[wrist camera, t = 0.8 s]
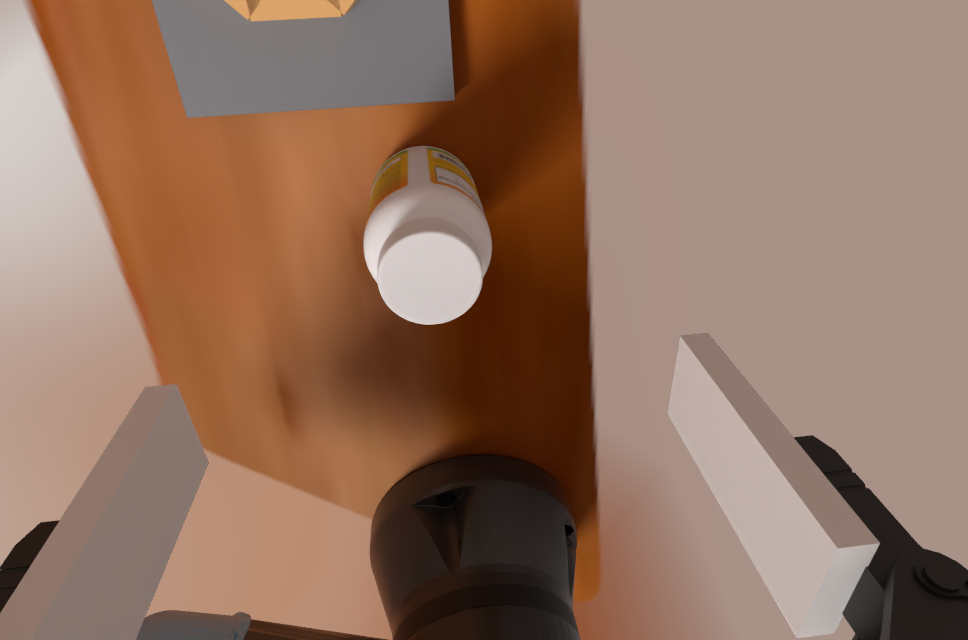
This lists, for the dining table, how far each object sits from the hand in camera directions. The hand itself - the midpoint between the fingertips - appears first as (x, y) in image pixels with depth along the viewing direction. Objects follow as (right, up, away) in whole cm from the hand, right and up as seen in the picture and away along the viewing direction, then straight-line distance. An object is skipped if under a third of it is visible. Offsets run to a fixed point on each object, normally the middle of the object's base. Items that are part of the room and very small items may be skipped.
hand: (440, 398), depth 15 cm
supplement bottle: (-2, +9, +14) cm, 17 cm away
